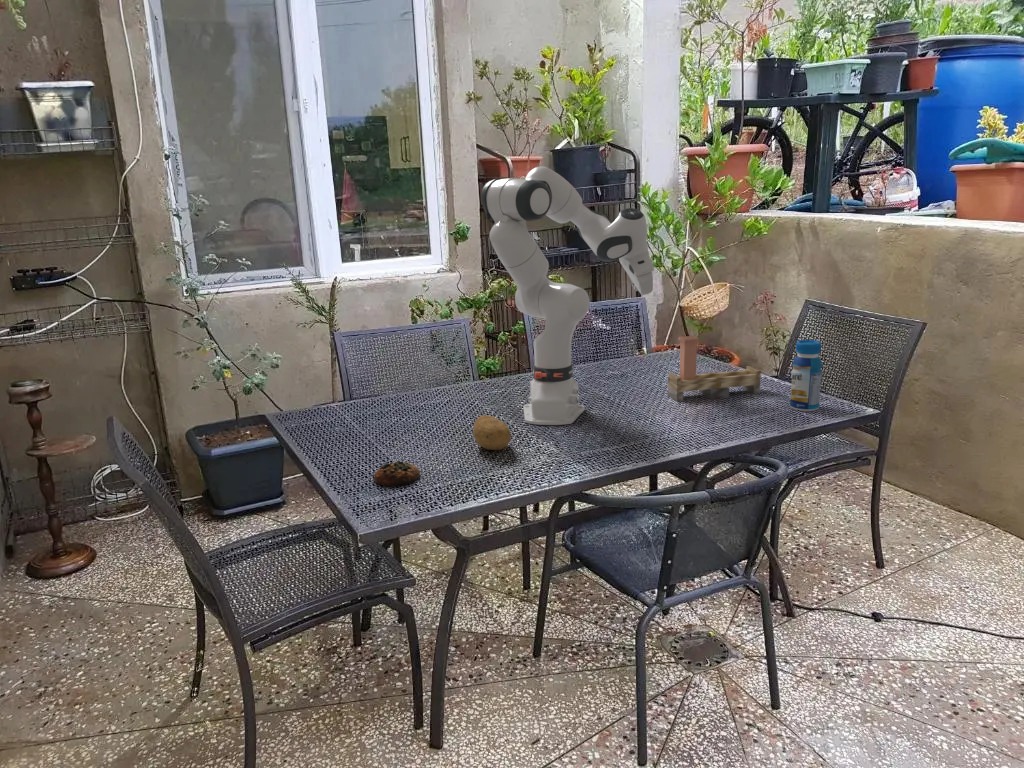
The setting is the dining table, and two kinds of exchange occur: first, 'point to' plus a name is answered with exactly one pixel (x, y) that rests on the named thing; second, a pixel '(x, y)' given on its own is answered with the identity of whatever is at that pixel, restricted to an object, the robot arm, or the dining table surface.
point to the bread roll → (396, 474)
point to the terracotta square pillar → (688, 357)
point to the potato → (491, 433)
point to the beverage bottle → (806, 376)
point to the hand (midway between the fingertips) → (635, 288)
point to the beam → (715, 383)
